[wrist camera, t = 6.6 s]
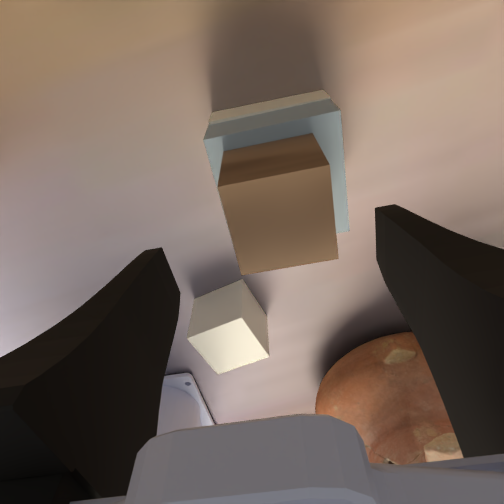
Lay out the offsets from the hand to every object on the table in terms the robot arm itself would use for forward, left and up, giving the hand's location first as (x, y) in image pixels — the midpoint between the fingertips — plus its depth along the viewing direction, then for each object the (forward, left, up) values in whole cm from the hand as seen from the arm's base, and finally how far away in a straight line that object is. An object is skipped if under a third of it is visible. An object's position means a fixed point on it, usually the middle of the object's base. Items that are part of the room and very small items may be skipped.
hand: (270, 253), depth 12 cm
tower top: (0, -1, -8) cm, 8 cm away
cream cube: (-11, +4, -10) cm, 16 cm away
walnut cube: (0, -1, -6) cm, 6 cm away
